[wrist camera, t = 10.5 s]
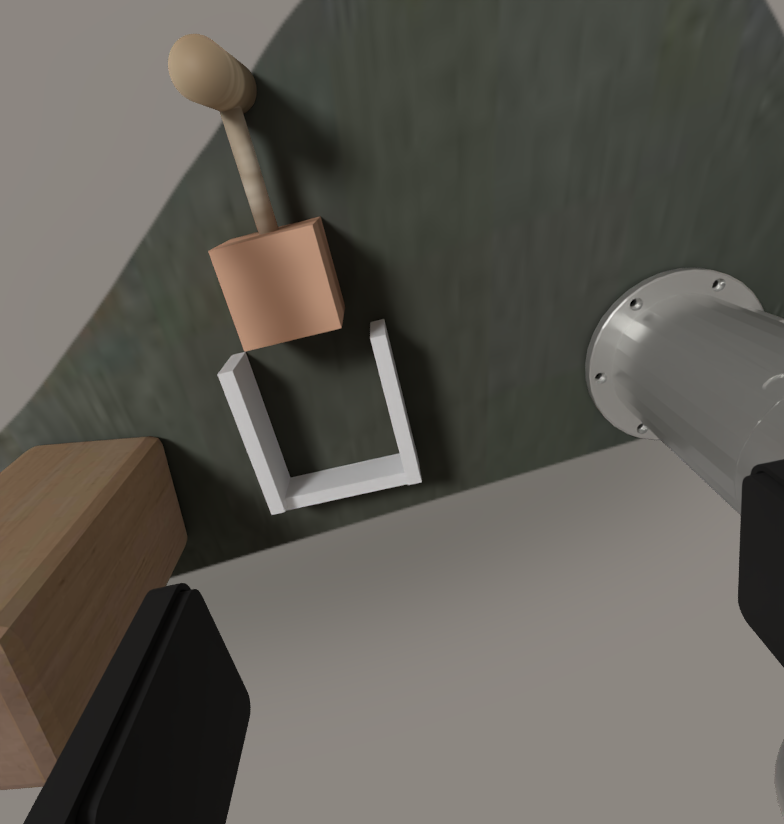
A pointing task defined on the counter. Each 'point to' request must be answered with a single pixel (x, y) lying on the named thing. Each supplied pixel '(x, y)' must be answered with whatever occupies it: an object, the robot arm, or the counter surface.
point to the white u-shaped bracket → (329, 482)
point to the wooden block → (74, 582)
